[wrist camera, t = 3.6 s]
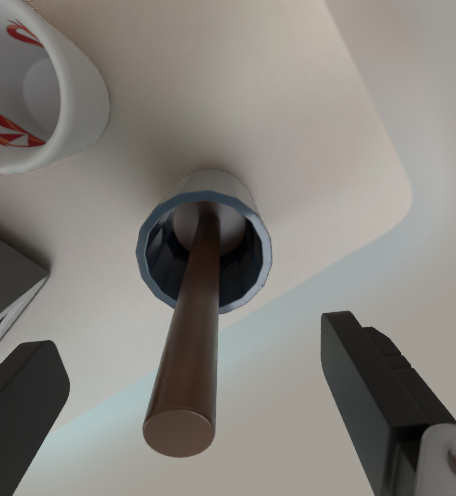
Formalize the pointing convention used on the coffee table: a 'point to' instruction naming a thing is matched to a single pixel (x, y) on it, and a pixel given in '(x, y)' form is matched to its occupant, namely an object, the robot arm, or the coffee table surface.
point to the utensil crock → (176, 256)
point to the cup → (44, 92)
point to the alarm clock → (17, 285)
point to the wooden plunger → (193, 334)
